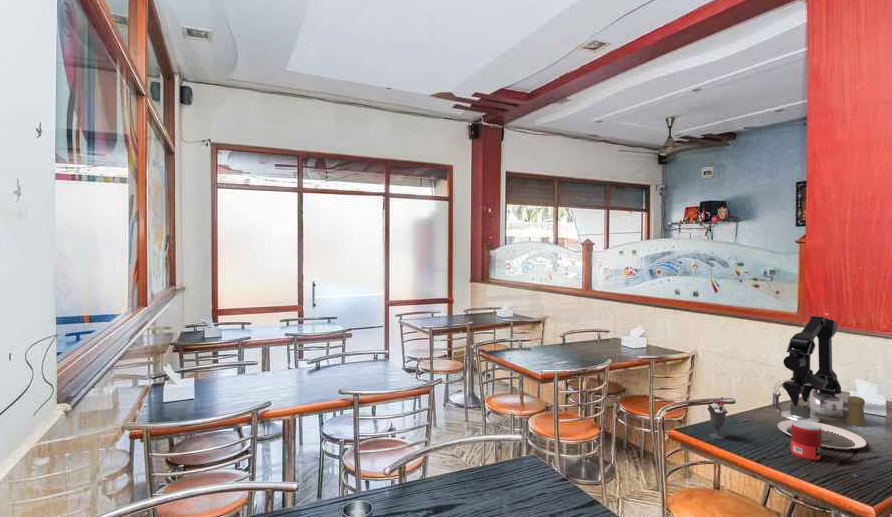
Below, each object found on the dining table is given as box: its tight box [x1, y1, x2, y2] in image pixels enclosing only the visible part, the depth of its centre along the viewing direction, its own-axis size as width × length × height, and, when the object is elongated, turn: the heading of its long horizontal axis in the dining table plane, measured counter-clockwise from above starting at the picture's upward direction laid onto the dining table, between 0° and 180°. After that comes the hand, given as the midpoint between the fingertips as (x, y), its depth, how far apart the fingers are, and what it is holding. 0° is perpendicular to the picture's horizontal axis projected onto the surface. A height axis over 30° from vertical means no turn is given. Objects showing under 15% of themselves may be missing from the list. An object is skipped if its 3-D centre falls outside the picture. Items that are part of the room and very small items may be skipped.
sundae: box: [707, 396, 729, 441], centre depth 169 cm, size 7×7×15 cm
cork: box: [845, 395, 867, 428], centre depth 183 cm, size 6×6×11 cm
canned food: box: [790, 420, 823, 462], centre depth 154 cm, size 8×8×11 cm
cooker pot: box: [809, 392, 844, 418], centre depth 196 cm, size 11×11×7 cm
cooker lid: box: [781, 402, 821, 423], centre depth 190 cm, size 13×13×6 cm
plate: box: [777, 419, 867, 450], centre depth 170 cm, size 26×26×2 cm
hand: (800, 403), depth 190 cm, fingers open, 9 cm apart
